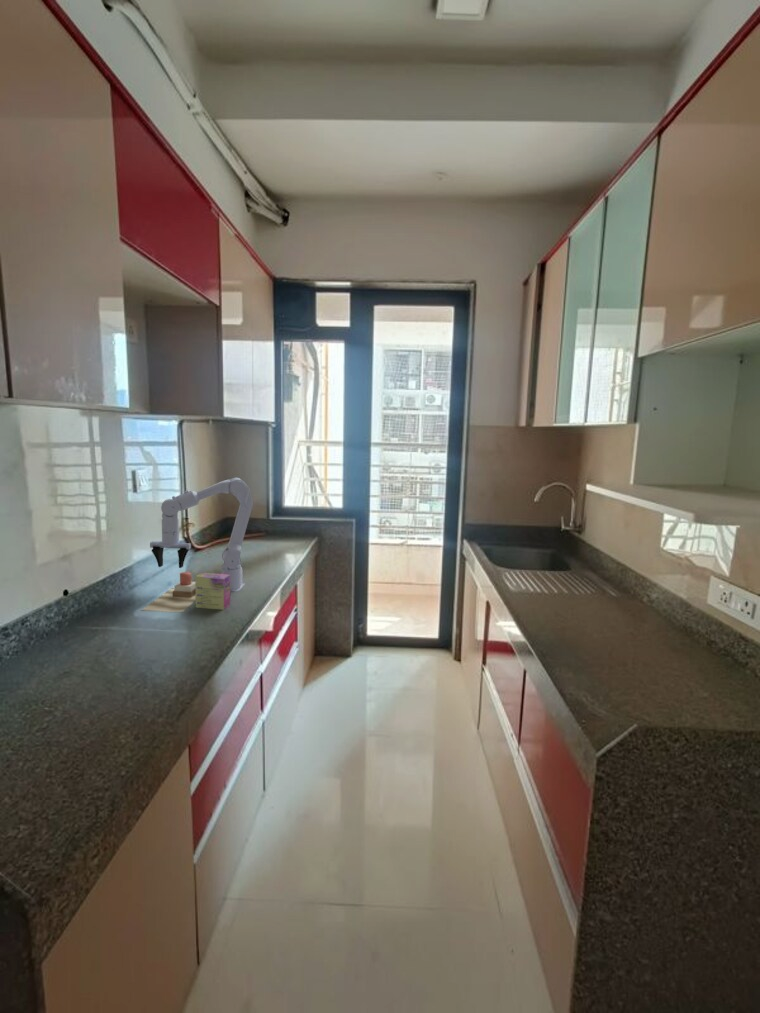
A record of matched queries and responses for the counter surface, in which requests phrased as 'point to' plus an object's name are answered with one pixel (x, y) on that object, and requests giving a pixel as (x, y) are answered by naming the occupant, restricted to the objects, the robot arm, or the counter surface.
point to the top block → (185, 587)
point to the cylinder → (185, 578)
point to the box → (212, 591)
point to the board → (170, 603)
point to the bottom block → (184, 593)
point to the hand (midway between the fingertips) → (170, 566)
